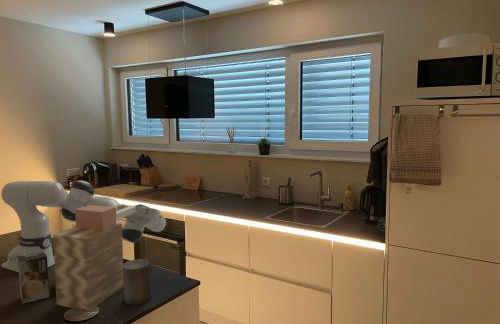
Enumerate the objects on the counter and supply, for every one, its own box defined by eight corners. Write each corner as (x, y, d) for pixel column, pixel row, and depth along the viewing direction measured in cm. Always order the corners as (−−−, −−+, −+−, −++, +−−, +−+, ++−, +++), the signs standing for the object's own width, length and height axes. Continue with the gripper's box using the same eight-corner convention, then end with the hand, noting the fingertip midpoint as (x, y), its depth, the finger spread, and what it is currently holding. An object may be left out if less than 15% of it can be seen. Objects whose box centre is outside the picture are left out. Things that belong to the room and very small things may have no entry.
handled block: (76, 227, 142) (75, 209, 141) (122, 210, 169) (121, 195, 168) (102, 230, 138) (102, 212, 137) (145, 212, 165) (145, 197, 165)
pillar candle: (156, 296, 143) (155, 258, 141) (138, 307, 134) (137, 266, 133) (136, 291, 147) (135, 254, 146) (118, 301, 138) (116, 262, 137)
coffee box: (47, 291, 146) (45, 251, 144) (50, 297, 141) (48, 256, 139) (19, 297, 141) (17, 256, 139) (21, 304, 136) (19, 261, 134)
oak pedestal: (56, 304, 135) (53, 234, 133) (94, 282, 154) (92, 220, 152) (88, 310, 131) (86, 238, 129) (123, 286, 150) (121, 223, 148)
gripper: (163, 224, 172) (148, 216, 160) (124, 220, 178) (107, 212, 166) (166, 211, 174) (152, 202, 162) (128, 208, 180) (112, 198, 168)
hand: (129, 207), depth 164 cm, fingers open, 6 cm apart
